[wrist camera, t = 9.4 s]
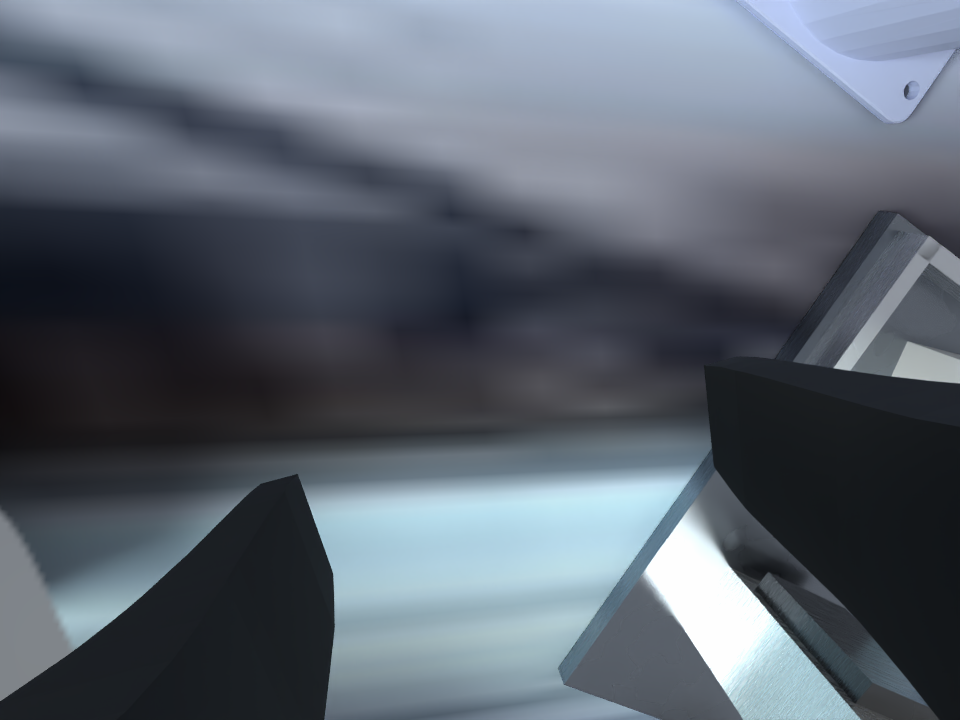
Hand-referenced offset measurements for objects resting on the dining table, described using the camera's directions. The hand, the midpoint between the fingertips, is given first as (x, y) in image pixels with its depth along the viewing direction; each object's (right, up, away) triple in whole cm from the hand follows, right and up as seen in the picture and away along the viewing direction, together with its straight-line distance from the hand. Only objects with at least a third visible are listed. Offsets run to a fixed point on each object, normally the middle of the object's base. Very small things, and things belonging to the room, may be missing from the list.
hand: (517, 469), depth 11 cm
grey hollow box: (+12, -4, +14) cm, 19 cm away
